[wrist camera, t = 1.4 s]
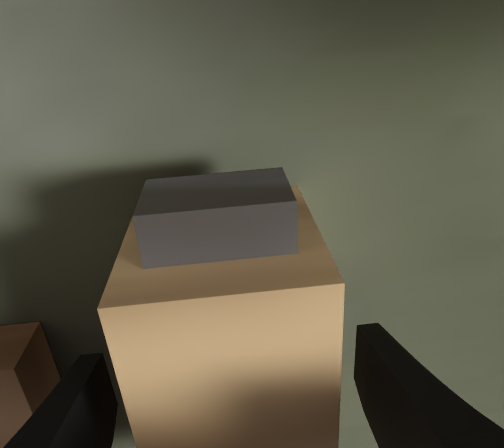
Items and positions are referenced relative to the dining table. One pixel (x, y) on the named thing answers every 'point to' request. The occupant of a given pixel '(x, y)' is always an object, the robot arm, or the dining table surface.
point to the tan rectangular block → (226, 316)
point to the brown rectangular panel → (23, 375)
